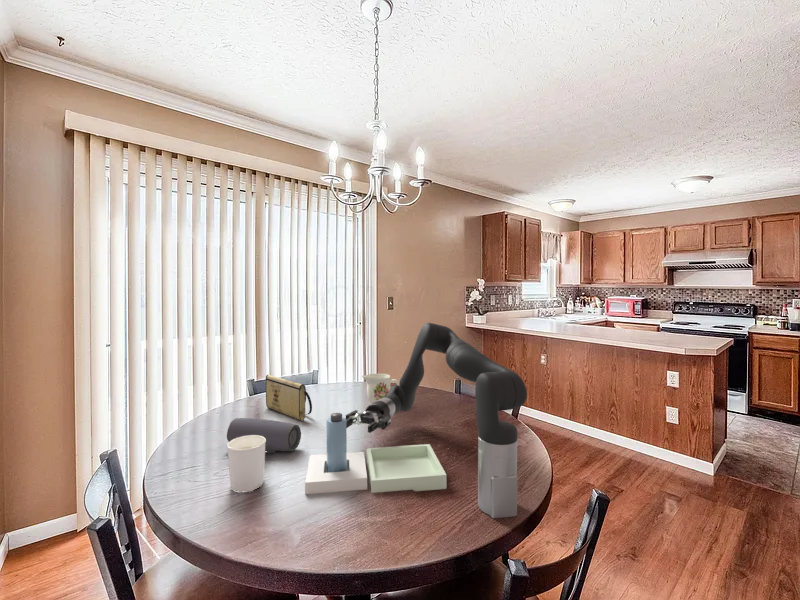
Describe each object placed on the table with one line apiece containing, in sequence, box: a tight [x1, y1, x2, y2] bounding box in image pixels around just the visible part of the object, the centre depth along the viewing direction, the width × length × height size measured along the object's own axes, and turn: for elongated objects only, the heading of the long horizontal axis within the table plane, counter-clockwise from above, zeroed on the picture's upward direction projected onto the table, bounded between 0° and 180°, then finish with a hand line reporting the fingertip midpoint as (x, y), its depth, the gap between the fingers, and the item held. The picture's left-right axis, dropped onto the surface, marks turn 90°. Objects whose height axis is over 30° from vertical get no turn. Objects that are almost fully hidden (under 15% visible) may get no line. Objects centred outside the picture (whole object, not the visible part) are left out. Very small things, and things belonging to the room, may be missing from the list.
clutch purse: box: [265, 374, 313, 422], centre depth 164 cm, size 30×7×15 cm, turn 49°
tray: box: [366, 443, 447, 494], centre depth 111 cm, size 20×20×4 cm
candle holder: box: [226, 435, 266, 492], centre depth 104 cm, size 10×10×12 cm
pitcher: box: [361, 373, 400, 405], centre depth 175 cm, size 11×18×14 cm, turn 111°
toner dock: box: [304, 451, 368, 495], centre depth 108 cm, size 16×16×4 cm
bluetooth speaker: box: [226, 417, 302, 453], centre depth 127 cm, size 23×9×10 cm, turn 74°
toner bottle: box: [325, 412, 348, 473], centre depth 108 cm, size 6×6×18 cm
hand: (356, 427), depth 118 cm, fingers open, 8 cm apart
